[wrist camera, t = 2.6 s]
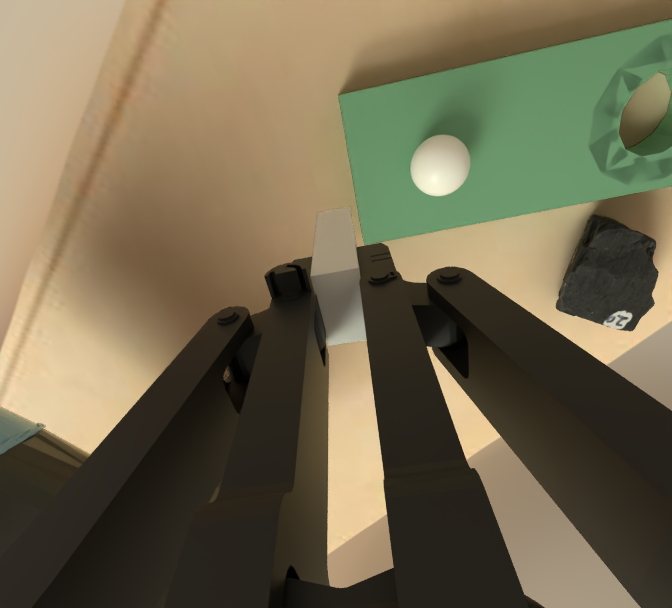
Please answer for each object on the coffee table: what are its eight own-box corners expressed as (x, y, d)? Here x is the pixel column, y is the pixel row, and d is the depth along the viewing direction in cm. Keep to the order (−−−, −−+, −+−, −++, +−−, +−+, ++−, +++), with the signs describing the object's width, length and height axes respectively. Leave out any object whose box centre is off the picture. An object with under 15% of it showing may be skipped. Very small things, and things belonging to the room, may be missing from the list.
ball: (408, 193, 29) (419, 208, 25) (403, 138, 27) (414, 145, 23) (460, 182, 28) (479, 196, 25) (459, 125, 26) (479, 132, 23)
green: (361, 232, 33) (367, 259, 28) (338, 94, 28) (340, 96, 23) (693, 168, 31) (766, 184, 26) (739, 2, 25) (845, -19, 20)
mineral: (671, 232, 34) (730, 258, 29) (610, 313, 38) (652, 348, 33) (572, 205, 32) (615, 227, 28) (521, 292, 37) (551, 325, 32)
